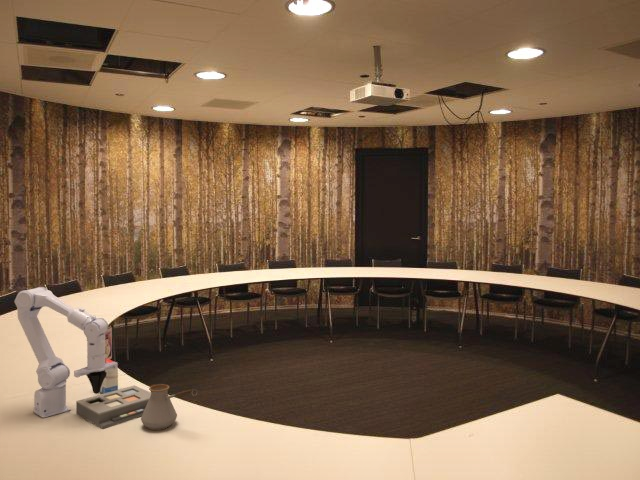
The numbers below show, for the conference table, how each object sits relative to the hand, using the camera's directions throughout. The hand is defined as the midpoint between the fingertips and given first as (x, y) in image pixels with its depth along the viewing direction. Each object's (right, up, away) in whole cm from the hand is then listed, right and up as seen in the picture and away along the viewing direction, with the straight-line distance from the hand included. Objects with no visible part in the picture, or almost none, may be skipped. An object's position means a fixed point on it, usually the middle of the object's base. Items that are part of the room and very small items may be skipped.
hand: (96, 392), depth 177 cm
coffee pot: (+29, -9, -10) cm, 32 cm away
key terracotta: (+11, -5, +4) cm, 12 cm away
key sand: (+4, -5, +5) cm, 8 cm away
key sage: (0, -6, 0) cm, 6 cm away
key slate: (+8, -5, +10) cm, 14 cm away
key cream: (+7, -5, -1) cm, 9 cm away
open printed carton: (-25, -4, +61) cm, 66 cm away
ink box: (-5, -6, +22) cm, 24 cm away
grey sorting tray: (+7, -7, +2) cm, 11 cm away
